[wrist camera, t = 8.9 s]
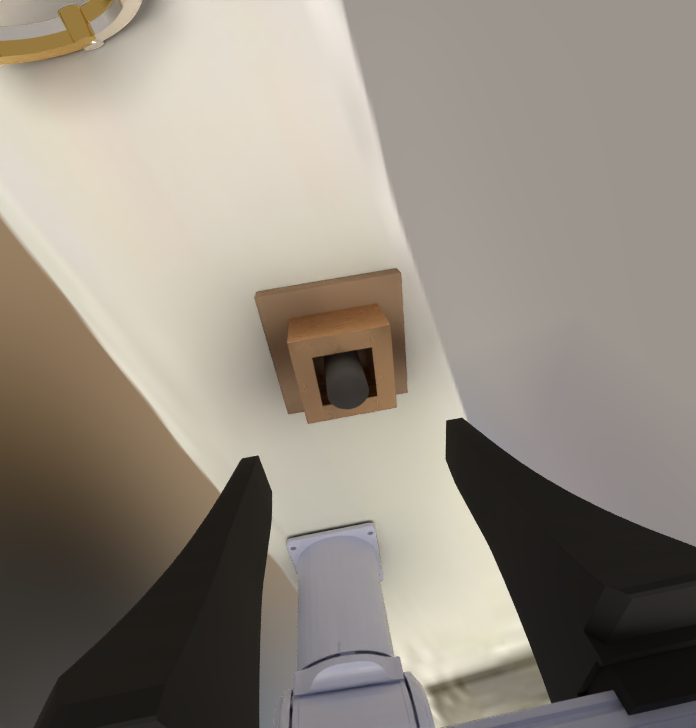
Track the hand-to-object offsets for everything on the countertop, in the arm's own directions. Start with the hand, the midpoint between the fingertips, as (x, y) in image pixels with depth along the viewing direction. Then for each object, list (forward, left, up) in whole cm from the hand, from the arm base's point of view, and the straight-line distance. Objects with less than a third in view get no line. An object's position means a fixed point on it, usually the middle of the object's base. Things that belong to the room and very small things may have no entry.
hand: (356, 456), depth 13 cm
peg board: (0, 0, -9) cm, 9 cm away
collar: (0, 0, -8) cm, 8 cm away
